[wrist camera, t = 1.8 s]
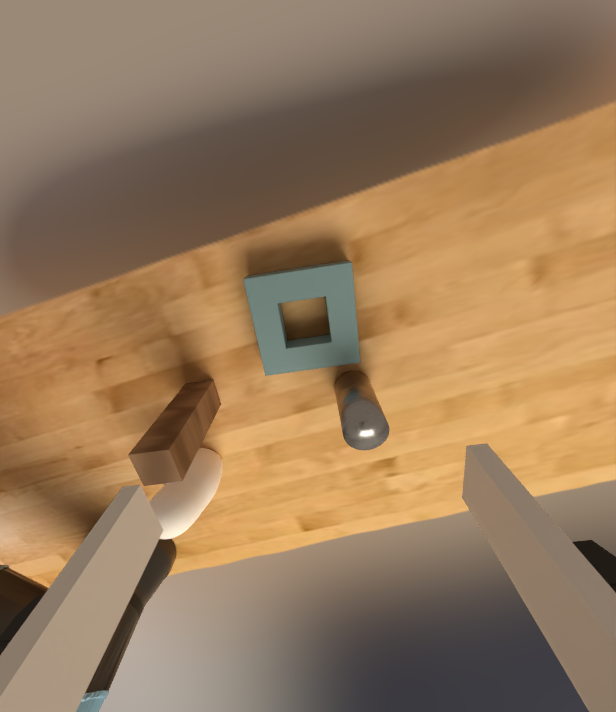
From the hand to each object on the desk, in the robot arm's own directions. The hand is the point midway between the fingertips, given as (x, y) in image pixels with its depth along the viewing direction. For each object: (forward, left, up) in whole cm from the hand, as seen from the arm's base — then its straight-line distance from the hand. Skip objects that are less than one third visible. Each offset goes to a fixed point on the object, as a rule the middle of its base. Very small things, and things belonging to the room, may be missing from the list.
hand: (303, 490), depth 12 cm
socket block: (0, 0, -27) cm, 27 cm away
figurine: (-20, -21, -27) cm, 40 cm away
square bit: (-16, -9, -27) cm, 32 cm away
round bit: (+5, -11, -27) cm, 29 cm away
